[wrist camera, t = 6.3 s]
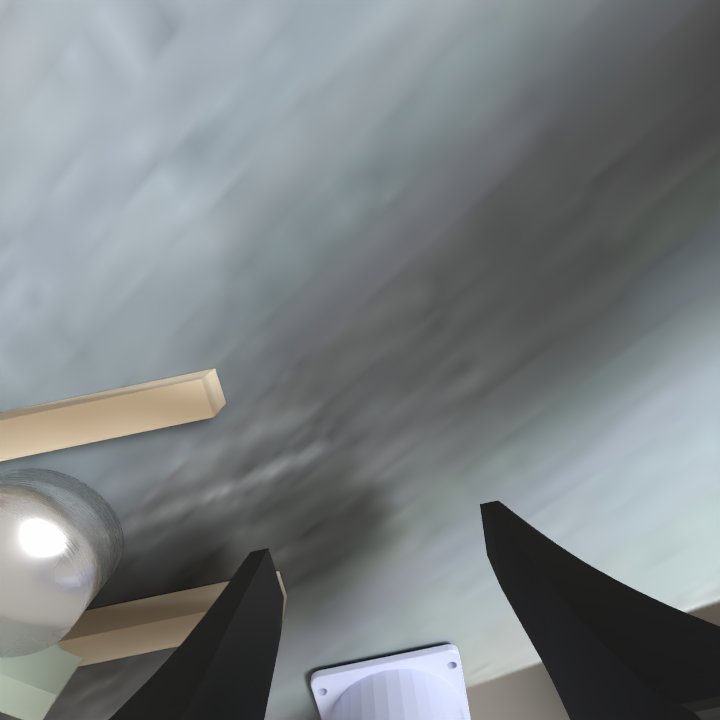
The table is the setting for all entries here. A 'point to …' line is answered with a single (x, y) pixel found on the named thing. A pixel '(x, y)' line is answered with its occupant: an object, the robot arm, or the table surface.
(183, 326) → the table surface
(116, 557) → the aluminium cover
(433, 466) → the table surface
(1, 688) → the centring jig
